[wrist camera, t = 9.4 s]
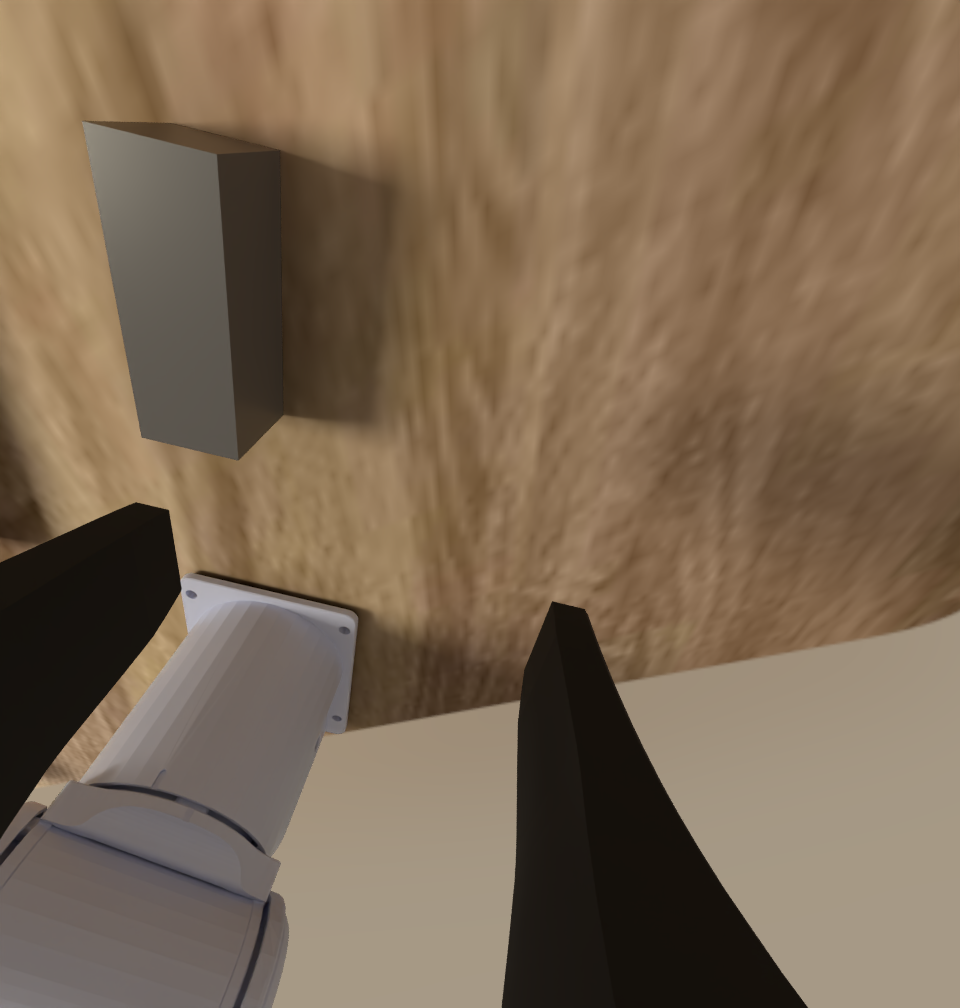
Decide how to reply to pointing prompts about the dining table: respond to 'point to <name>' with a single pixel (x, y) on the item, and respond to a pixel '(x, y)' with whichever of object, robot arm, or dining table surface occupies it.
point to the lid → (194, 279)
